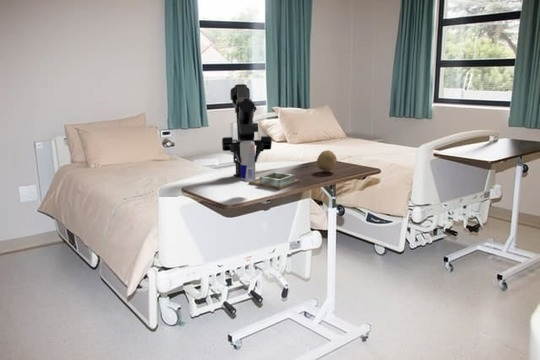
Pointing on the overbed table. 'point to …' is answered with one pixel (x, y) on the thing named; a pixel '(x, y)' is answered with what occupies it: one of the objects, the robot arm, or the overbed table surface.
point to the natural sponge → (326, 161)
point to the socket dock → (275, 180)
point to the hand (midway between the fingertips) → (247, 162)
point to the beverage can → (247, 161)
